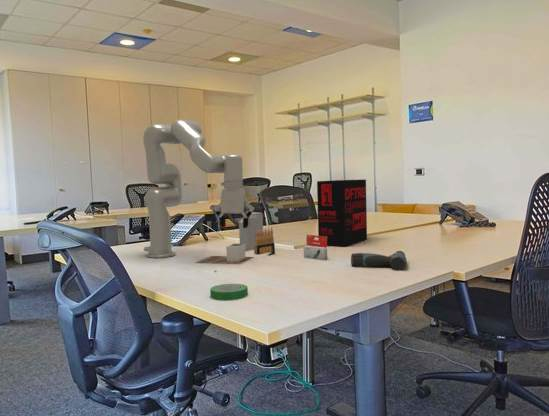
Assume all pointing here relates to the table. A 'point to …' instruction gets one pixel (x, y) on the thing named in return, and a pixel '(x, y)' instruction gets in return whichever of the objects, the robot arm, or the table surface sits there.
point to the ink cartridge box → (316, 248)
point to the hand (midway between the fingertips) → (234, 227)
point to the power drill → (379, 260)
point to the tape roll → (229, 291)
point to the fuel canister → (250, 230)
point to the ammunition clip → (264, 242)
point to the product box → (342, 211)
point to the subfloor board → (221, 260)
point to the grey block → (235, 252)
